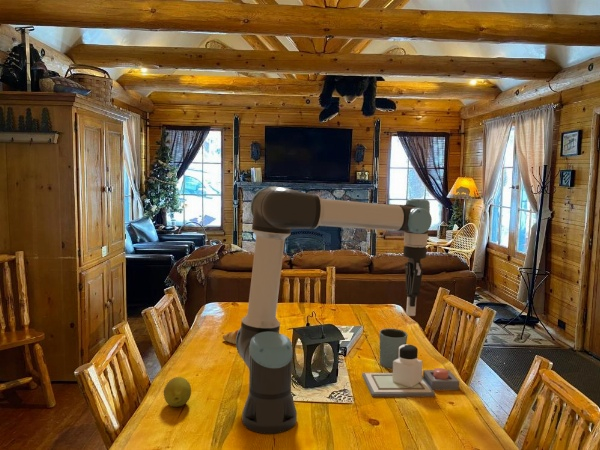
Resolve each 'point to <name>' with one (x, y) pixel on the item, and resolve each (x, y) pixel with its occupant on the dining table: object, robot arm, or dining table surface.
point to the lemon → (177, 391)
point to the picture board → (394, 386)
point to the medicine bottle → (407, 366)
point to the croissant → (231, 337)
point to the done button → (440, 373)
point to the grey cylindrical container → (391, 345)
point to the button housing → (441, 381)
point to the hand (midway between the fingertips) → (410, 315)
